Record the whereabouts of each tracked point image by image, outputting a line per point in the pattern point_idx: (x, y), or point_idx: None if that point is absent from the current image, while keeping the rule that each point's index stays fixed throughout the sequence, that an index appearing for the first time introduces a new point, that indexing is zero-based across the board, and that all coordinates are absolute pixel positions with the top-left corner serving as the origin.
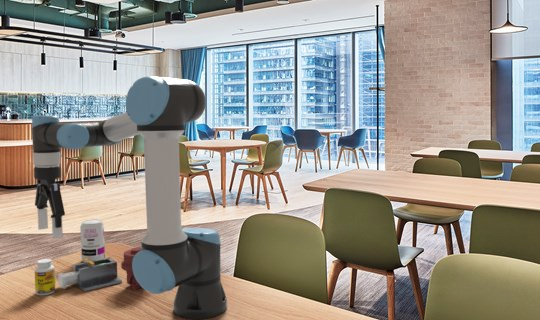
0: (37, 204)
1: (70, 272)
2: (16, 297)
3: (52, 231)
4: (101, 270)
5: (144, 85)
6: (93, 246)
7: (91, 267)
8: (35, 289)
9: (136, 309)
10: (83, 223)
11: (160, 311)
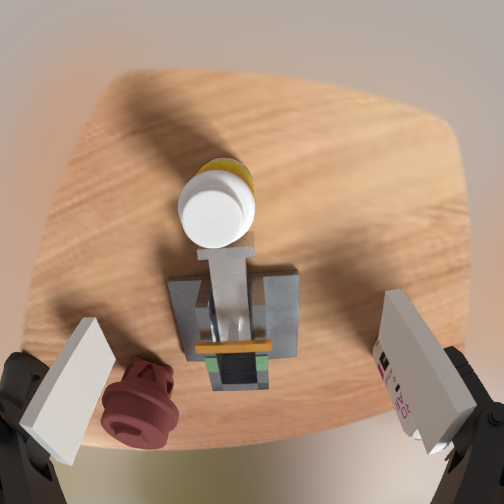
0: (501, 442)
1: (241, 280)
2: (235, 103)
3: (73, 346)
4: None
5: None
6: (390, 373)
7: (201, 338)
8: (222, 159)
9: (44, 323)
10: None
11: (33, 344)
